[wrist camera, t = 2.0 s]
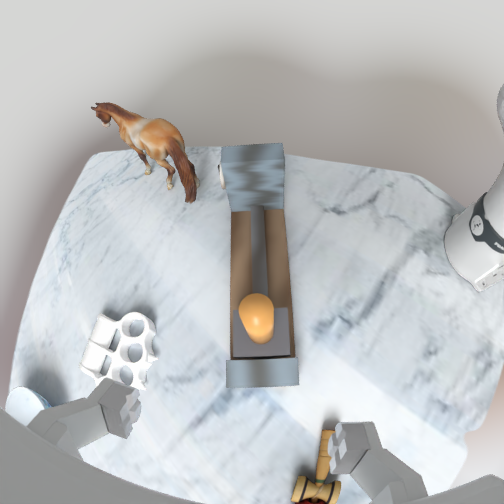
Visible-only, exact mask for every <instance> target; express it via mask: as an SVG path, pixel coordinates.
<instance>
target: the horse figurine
mask: <svg viewBox="0 0 504 504" xmlns="http://www.w3.org/2000/svg"><path fill="white" fill-rule="evenodd" d="M96 105H98V106H97V107H96V108H95V107H91V109H93V110H95V111H96V116H97V117H98V118H100V119H101V121H102V125H103V126H104V127H109V126H110V120H111V117H112V118H113V119H114V120H115V122H116V123H117V124H118V126H119V132H120V136H121V138H122V139H123V140H124V141H125V142H126V143H127V144H128V145H129V146H130V147H131V148H133V149H134V150H135V151H136V152H137V153H138V155H139V157H140V159H141V160H143V161H144V163H145V164H146V170H145V174H146V175H149V174H150V173H151V170H150V169H151V166H150V165H149V164H148V162H147V160H146V154H145V153H144V152H143V150H146V153H147V154H148V155H149V156H150V158H152V159H154V160H155V161H156V162H157V163H158V164H159V165H160V166H162V167H164V168H166V169H167V171H168V177H167V180H166V182H167V187H168V190H170V189H171V188H172V187H173V185H172V183H171V182H172V176H173V174H174V173H175V168H174V167H172V166H171V165H170V164H169V163H168V162H167V161H166V159H165V158H166V157H167V156H168V155H170V156H171V157H172V159H173V161H174V164H175V166H176V168H177V170H178V173H179V176H180V179H181V182H182V184H183V186H184V188H185V193H186V199H185V202H187V203H188V202H190V204H191V203H192V202H194V201H195V199H196V190H197V188H198V187H199V186H200V184H199V179H198V178H197V176H196V174H195V169H194V165H193V164H192V163H191V162H190V161H189V160H188V157H187V155H186V153H185V146H184V140H183V138H182V136H181V134H180V132H179V131H178V129H177V128H176V127H175V126H173V125H172V124H171V123H169V122H168V121H166V120H164V119H160V118H159V119H147V118H143V117H141V116H140V115H138V114H135V113H131V112H129V111H127V110H124V109H123V108H121V107H120V106H118V105H116V104H113V103H96Z"/></svg>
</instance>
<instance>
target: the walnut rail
mask: <svg viewBox="0 0 504 504" xmlns="http://www.w3.org/2000/svg"><path fill="white" fill-rule="evenodd" d="M218 169H219V174H220V182H221V187H222V189H226V190H227V195H228V199H229V204H230V208H231V277H230V356H231V360H226V388H252V387H278V386H294V385H299V372H298V358H295V344H294V328H293V313H292V299H291V286H290V274H289V262H288V251H287V240H286V229H285V219H284V210H283V207H284V172H285V158H284V151H283V144H282V143H271V144H254V145H240V146H228V147H222V150H221V161H220V165H218ZM254 293H259V294H263V295H265V296H267V297H268V298H269V299H270V300H271V302H272V304H273V307H274V308H287V307H288V321H289V338H290V356H289V357H271V358H241V359H235V358H234V357H233V310H239V305H240V303H241V301H242V300H243V299H244V298H245V297H246V296H248V295H250V294H254Z"/></svg>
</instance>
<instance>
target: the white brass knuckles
mask: <svg viewBox="0 0 504 504" xmlns="http://www.w3.org/2000/svg"><path fill="white" fill-rule="evenodd" d="M135 320H143V321H144V324H145V327H144V331H143V333H142V334H141V335H139V336H137V337H132V336H131V335H130V332H129V328H130V325H131V324H132V322H133V321H135ZM117 328H118V329H119V331H120V333H121V339H120V342H119V344H118V347H117V349H116V351H115V352H114V351H112V350H110V349H109V347H110V344H111V342H112V339H113V337H114V334H115V332H116V329H117ZM155 334H156V327H155V325H154V323H153V322H152V320H151V319H149V318H148V317H146V316H145V315H143V314H141V313H139V312H130V313H128V314H126V315H125V316H124V317H123V318H122V319H121V320H120V321H115V320H113V319H111V318H109V317H107V316H105V315H103V314H101V313H100V314H99V315H98V320H97V322H96V324H95V327H94V329H93V332H92V334H91V336H90V339H88V344H87V347H86V349H85V352H84V355H83V357H82V360H81V363H79V368H80V369H81V370H82V371H83V372H85V373H86V374H88V375H90V376H92V377H93V378H94V380H95V382H96V387H97V386H98V385H99V383H100V382H101V381H102V380H103V379H104V378H106V377H107V378H110V379H113V380H115V381H118V382H121V383H123V384H125V383H124V382H123V381H122V380H121V378H120V370H121V368H122V367H123V366H124V365H127V366H128V367H129V368H130V369H131V370H132V372H133V382H132V383H131V384H130V385H129V386H132V387H134V388H137V389H144V390H147V389H146V387H145V385H144V383H145V382H146V372H147V370H148V368H149V367H150V366H151V365H152V363H153V361H154V360H157V359H158V358H157V357H156V356H154V352H153V350H152V340H153V337H154V336H155ZM135 343H140V344H141V346H142V348H143V355H142V357H141V359H140V360H139V361H137V362H131V361H130V359H129V357H128V349H129V347H130V346H131V345H132V344H135ZM106 355H109V356H110V357H111V359H112V362H111V365H110V367H109V370H108V373H107V375H106V376H103V374H101V373H100V371H101V368H102V365H103V363H104V360H105V357H106Z"/></svg>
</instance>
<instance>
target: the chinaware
mask: <svg viewBox="0 0 504 504" xmlns="http://www.w3.org/2000/svg"><path fill="white" fill-rule="evenodd" d="M51 407H52V406H51V405H50V404H49V403H48V401H47V400H46V399H44V398H43V397H42V396H41V395H40V394H38V393H37V392H35V391H33V390H31V389H29V388H26V387H22V386H19V387H16V388H14V389H13V390H12V391H11V392H10V394H9V395H8V398H7V401H6V408H5V411H6V412H7V413H8V414H10V415H11V416H12V417H14V418H15V419H16V420H18V421H19V422H20V423H22V424H23V425H24V426H27V425H28V424H29V423H30V422H31V421H32V420H33V418H34V417H35V416H36V415H37V414H38V413H39V412H40V411H41V410H44V409H48V408H51Z"/></svg>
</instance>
